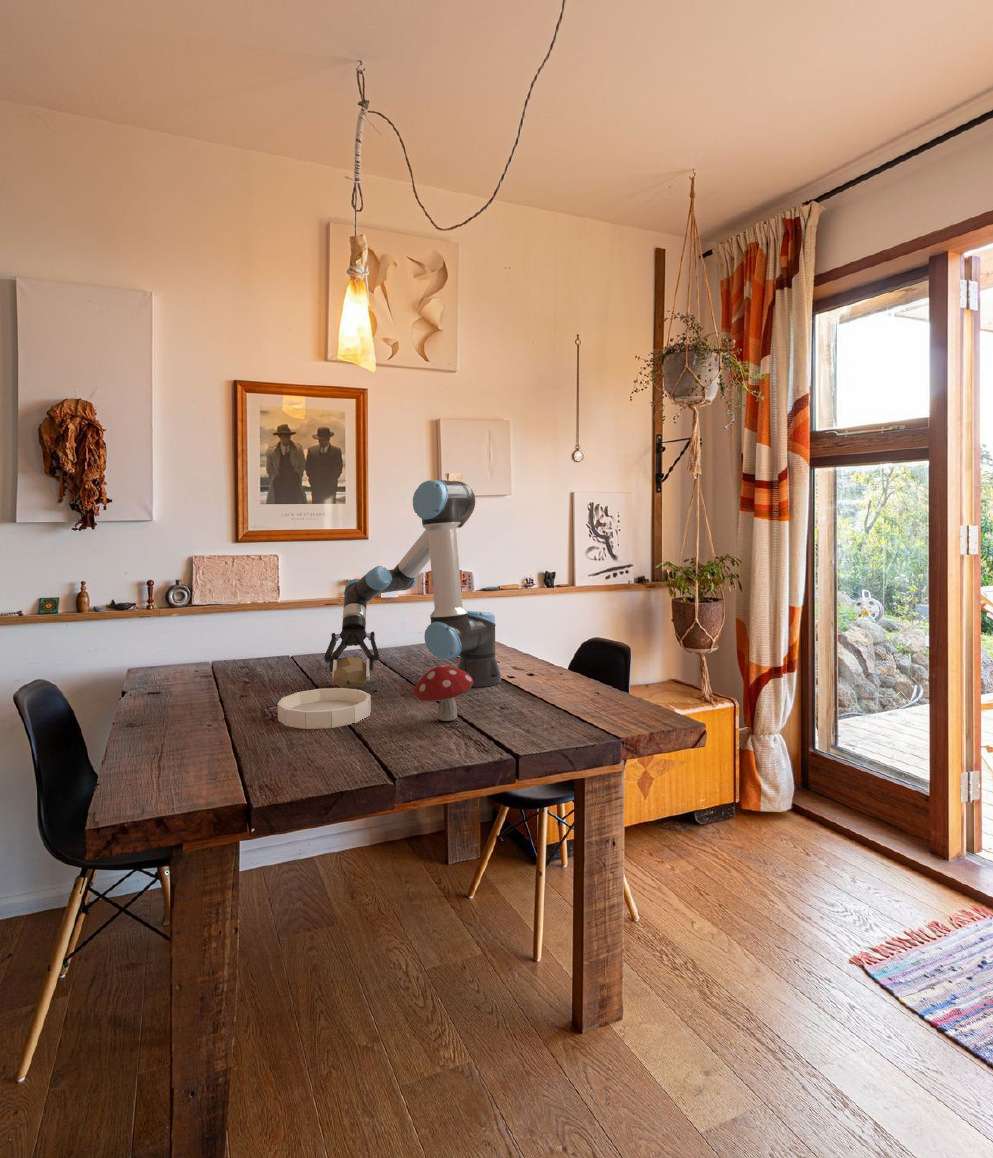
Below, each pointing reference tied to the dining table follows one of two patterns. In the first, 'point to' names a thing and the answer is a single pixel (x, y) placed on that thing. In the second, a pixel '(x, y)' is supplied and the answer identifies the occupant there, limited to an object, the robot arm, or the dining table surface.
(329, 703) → the cream bowl
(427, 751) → the dining table surface
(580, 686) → the dining table surface
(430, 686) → the decorative mushroom
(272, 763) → the dining table surface
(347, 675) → the low-poly potato
